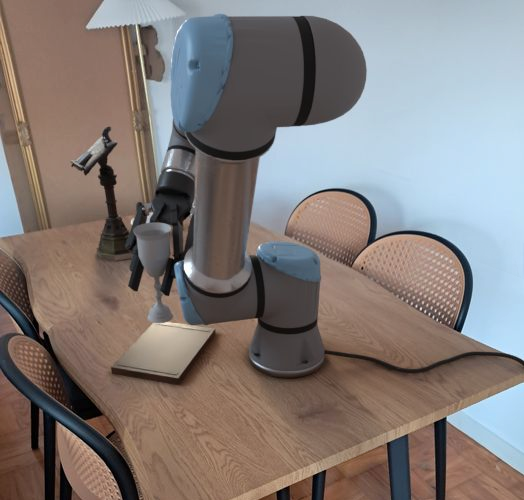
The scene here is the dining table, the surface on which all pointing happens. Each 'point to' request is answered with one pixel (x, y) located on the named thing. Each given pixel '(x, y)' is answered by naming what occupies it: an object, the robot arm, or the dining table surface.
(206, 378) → the dining table surface
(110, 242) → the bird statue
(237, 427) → the dining table surface
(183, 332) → the serving board
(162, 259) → the chalice
